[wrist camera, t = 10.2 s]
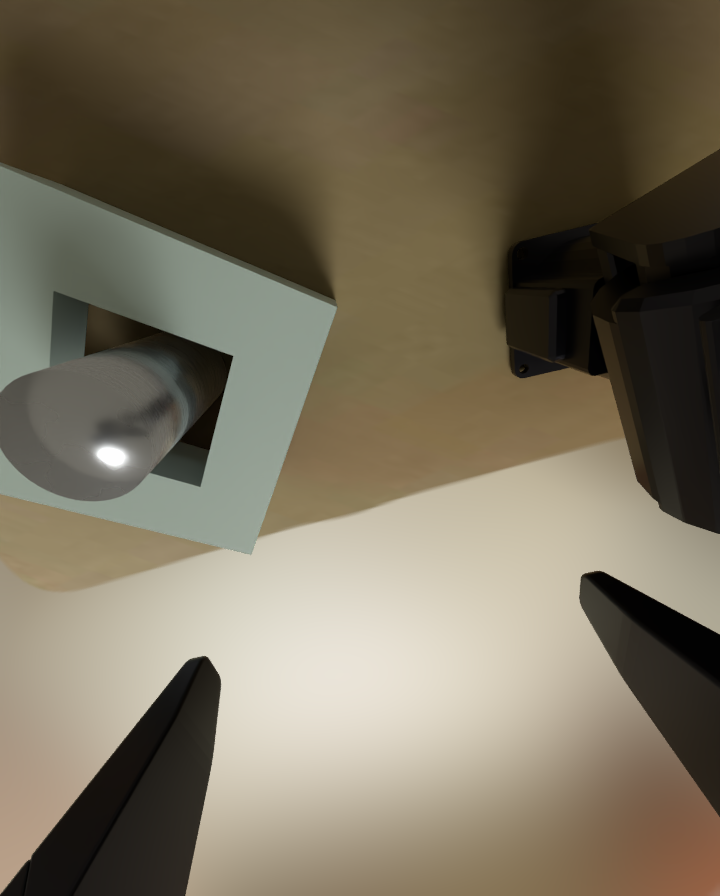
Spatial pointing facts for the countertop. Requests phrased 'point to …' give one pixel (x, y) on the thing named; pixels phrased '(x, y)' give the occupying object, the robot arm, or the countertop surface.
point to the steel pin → (107, 414)
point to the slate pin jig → (172, 310)
